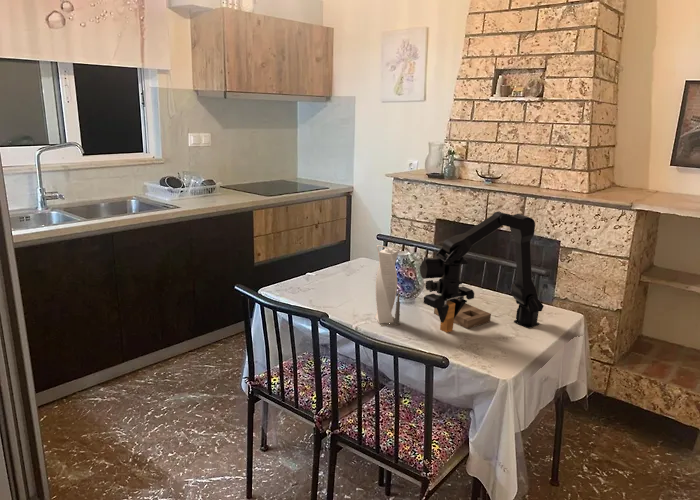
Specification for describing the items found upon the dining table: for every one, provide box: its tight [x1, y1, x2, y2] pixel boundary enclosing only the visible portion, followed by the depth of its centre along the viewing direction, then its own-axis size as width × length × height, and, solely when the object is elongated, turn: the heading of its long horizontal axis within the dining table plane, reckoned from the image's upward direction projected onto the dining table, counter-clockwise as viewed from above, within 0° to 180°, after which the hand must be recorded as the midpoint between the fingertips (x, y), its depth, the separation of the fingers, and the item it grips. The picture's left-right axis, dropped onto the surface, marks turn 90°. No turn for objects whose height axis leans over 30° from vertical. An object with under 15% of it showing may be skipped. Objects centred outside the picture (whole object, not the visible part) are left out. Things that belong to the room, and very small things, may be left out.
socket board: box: [433, 294, 492, 330], centre depth 188 cm, size 16×13×7 cm
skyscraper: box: [374, 244, 401, 327], centre depth 180 cm, size 8×8×28 cm
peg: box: [439, 301, 455, 334], centre depth 176 cm, size 3×3×10 cm
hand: (447, 320), depth 177 cm, fingers open, 5 cm apart
